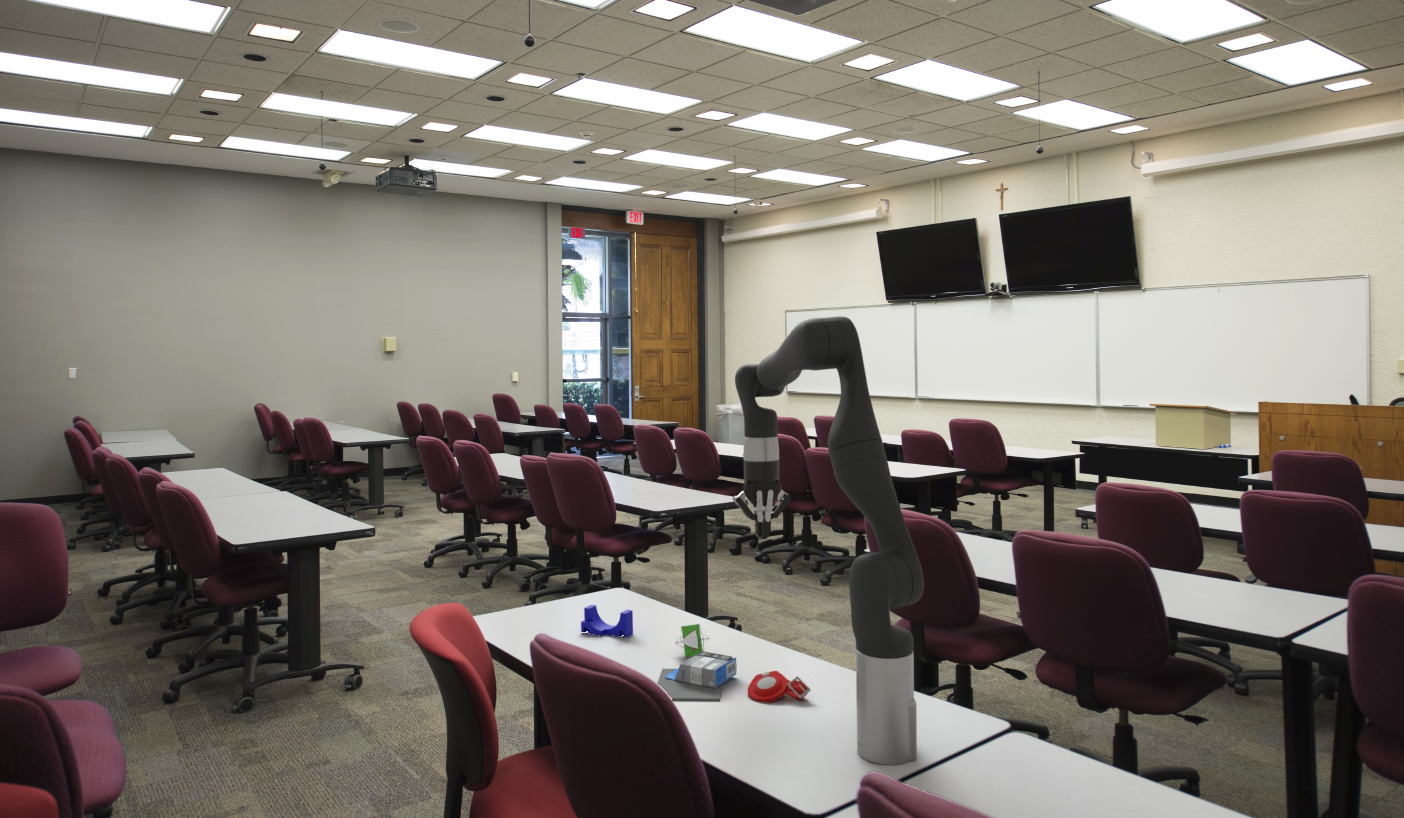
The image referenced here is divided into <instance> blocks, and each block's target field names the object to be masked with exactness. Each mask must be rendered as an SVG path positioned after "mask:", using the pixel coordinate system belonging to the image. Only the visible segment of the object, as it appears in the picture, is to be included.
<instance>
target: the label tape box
mask: <svg viewBox="0 0 1404 818" xmlns="http://www.w3.org/2000/svg"><path fill="white" fill-rule="evenodd" d="M737 666H738V665H737V657H736V656H732V655H726V654H722V653H721V654H719V653H715V652H707V651H705V650H703V651H702V652H701V653H699V654H697V655H695V656H692V657H691V658H688V659H687V660H685V661H683V662H682V663H680V664H679V667H678V668H675V669H676V670H675V671H673V672H672V673H670V674H668V675H666V676H665V677H666V678H669V679H672V680H677V681H682V682H687V683H692V684H697V685H702V686H707V687H713V688H716V687H718V686H719V685H721V684H722V685H723V684H724V683H726V682H727V681H729V680H730V679H731V678H732V677H734V676H737Z"/></svg>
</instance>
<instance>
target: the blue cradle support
mask: <svg viewBox="0 0 1404 818" xmlns="http://www.w3.org/2000/svg"><path fill="white" fill-rule="evenodd" d="M583 609H584V611H583V615H584V616H583V617H584V619H583V620H582V621H580V633H581V632H586V631H588V633H590V634H595V635H594V636H596V635H603V636H605V635H604V634H608V635H607V636H611V635H615V636H614V637H618V636H622V635H624V636H623V637H622V638H624V637H627V638H629V637H631V636H633V635H634V621H633V620H634V617H633V616H634V615H633V614H634V613H633V612H634V610H633V609H625V610H623V611H622V612H620V616H619V620H618V622H617V624H616V625H611V624H608V623H606V622H605V621H604V620H603V619H602V618H601V616H600V615H599V613H598V608H597V605H595V604H590V605H587V606H586V607H584V608H583ZM590 634H589V635H590ZM632 634H633V635H632ZM630 635H631V636H630ZM628 636H629V637H628Z"/></svg>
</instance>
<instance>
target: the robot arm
mask: <svg viewBox="0 0 1404 818" xmlns="http://www.w3.org/2000/svg"><path fill="white" fill-rule="evenodd" d="M823 370H836V371H837V374H838V377H839V383H840V384H839V385H840V398H839V403H838V406H837V409H836V412H835V415H834V417H833V420H832V423H831V426H830V429H829V432H828V437H827V449H828V454H829V457H830V458H829V459H830V462H831V465H832V471H833V474H834V477H835V480H836V482H837V484H838V486H839V488H840V489H841V490H842V491H843V493H844V494H845V496H846V497H847V498H848V499H849V500H850V502H851V503H853V505H854V506H855V507H856V508H857V510H859V512H860V513H861V514H862V515H863V517H864V518H865V519H866V520H867V522H868V524H869V525H870V527H871V529H872V531H873V534H874V537H875V540H876V542H877V546H878V550H879V551H877V552H876V551H875V552H870V553H865V554H861V555H859V556H857V557H856V558H855V559H854V560H853V561H852V563H851V565H850V570H849V577H848V580H849V581H848V583H849V584H848V588H849V589H848V590H849V601H850V618H851V619H850V620H851V628H852V631H853V636H854V638H855V639H854V640H855V680H856V681H855V683H856V688H855V690H856V691H855V692H856V695H855V696H856V752H857V753H858V755H859V756H860V757H862V758H863V759H865V760H867V761H869V762H872V763H876V764H881V765H900V764H905V763H907V762H909V761H914V762H915V761H917V760H918V754H917V753H918V749H917V748H918V745H917V744H918V742H917V741H918V740H917V738H918V737H917V734H918V733H917V731H918V730H917V725H918V724H917V722H918V721H917V719H918V718H917V715H918V714H917V702H916V699H915V697H914V696H915V690H914V689H915V681H914V680H915V679H914V678H915V677H914V676H915V675H914V674H915V671H914V667H915V666H914V663H915V661H914V658H915V657H914V636H913V634H912V632H911V631H909V630H908V629H906V628H904V627H901V626H899V625H895V624H892V623H891V614H890V613H891V612H890V610H891V609H897V608H901V607H907V606H911V605H914V604H916V603H918V602H919V601H920V599H921V598H922V597H923V593H924V588H925V580H924V574H923V568H922V566H921V561H920V559H919V556H918V553H917V551H916V547H915V545H914V542H913V540H912V538H911V534H910V532H909V529H908V526H907V524H906V521H905V519H904V515H903V512H902V509H901V505H900V503H899V500H898V496H897V492H896V488H895V487H894V483H893V479H892V475H891V472H890V467H889V462H888V457H887V454H886V450H885V446H884V442H883V439H882V436H881V432H880V429H879V425H878V422H877V419H876V416H875V415H876V414H875V411H874V408H873V403H872V398H871V395H870V391H869V386H868V381H867V380H868V379H867V375H866V368H865V363H864V357H863V351H862V347H861V341H860V337H859V334H858V331H857V327H856V326H855V324H854V322H853V321H852V319H851V318H849V317H846V316H842V315H841V316H839V315H838V316H826V317H816V318H815V317H814V318H807V319H803V320H802V321H800V322H798V323H797V324H796V325H795V326H794V328H793V329H791V331H790V333H788V335H787V336H786V338H785V339H784V340H783V342H782V343H781V344H780V345H779V347H778V348H777V349H776V350H774V351H773V352H771V353H770V354H768V355H767V356H766V357H764V358H763V359H762V360H761V361H760V362H759V363H747V364H746V363H745V364H743V365H740V366H739V367H738V369H737V370H736V372H735V376H734V385H735V389H736V392H737V395H738V398H739V401H740V405H741V410H742V414H743V424H744V427H743V429H744V431H743V432H744V439H743V440H744V441H743V453H742V457H743V481H744V483H743V485H742V487H741V492H740V493H739V494H737V495H734V496H733V497H732V500H733V502H734V504H736V506H737V507H738V508H739V509H740V510H741V512H742V513H743V514H744V515H745V516H746V517H745V518H747V519H749V520H751V521H754V534H755V536H756V537H757V538H758V540H767V539H768V537H770V535H771V531H770V529H771V525H770V524H771V521H772V520H773V519H778V517H779V516H780V515H781V513H782V512H783V510H784V509H785V507H786V506H787V504H788V503H789V502H790V500H791V498H792V496H791V494H789V493H787V492H786V491H784V490H783V489H782V485H781V483H780V445H779V439H778V437H779V436H778V414H777V411H775V410H774V409H772V408H768V407H762V406H760V405H759V403H758V402H757V400H756V398H772V397H777V396H780V395H782V394H783V393H784V391H785V388H786V386H788V385H789V384H791V383H793V382H795V381H796V380H797V379H799V377H800V375H801V373H802V372H803V371H823ZM746 499H747V500H748V501H749V502H750V504H751V505H752V507H751V508H752V510H751V509H750V508H749V506H748V505H747V504H746V502H747V500H746ZM776 499H777V501H776ZM775 501H776V502H775ZM774 502H775V504H774V506H773V503H774ZM904 762H905V763H904Z"/></svg>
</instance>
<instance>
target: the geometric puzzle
mask: <svg viewBox="0 0 1404 818" xmlns="http://www.w3.org/2000/svg"><path fill="white" fill-rule="evenodd" d="M701 628H702V627H701V625H700V623H698V624H688V625H681V627H680V629H681V636H680V638H679V639H678V637H676V638H677V639H678V640H676V641H675V643H674V644H675V645H676V646H677V647H678V648H679V649H680V647H681V648H682V651H683V652H684V653H682V654H683V655H684V657H685V659H686V658H689V657H691V658H692V657H694V656H695V655H697V654H699V653H701V652H702V651H705V650H706V648H707V647H705V648H704V646H705V645H704V644H705V642H704V641H705V640H709V639H710V637H709V635H708V634H707V635H706V634H703V632H702V629H703V628H702V629H701ZM704 633H706V632H705V631H704ZM703 635H704V636H705V638H704V636H703ZM679 640H680V641H679ZM702 642H703V643H702ZM679 643H680V644H681V645H680V644H679ZM682 644H683V645H682Z"/></svg>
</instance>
